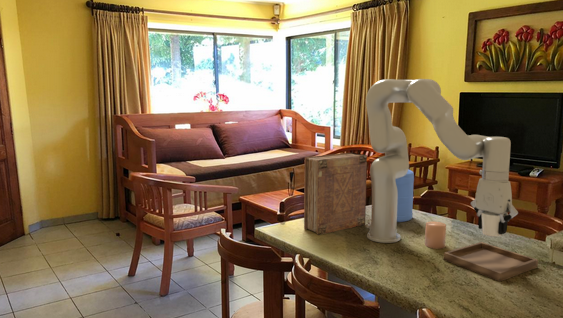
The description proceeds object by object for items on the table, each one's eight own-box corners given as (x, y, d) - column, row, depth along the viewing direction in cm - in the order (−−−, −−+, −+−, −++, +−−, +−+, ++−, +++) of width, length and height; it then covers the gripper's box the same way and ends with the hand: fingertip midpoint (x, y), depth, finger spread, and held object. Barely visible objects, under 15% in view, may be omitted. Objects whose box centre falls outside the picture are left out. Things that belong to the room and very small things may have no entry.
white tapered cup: (506, 237, 137) (507, 215, 136) (483, 236, 138) (484, 215, 137) (500, 231, 143) (501, 210, 143) (478, 230, 145) (478, 209, 144)
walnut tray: (443, 259, 146) (443, 252, 146) (480, 248, 156) (481, 241, 156) (499, 281, 129) (500, 273, 129) (537, 267, 139) (538, 259, 139)
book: (317, 235, 172) (317, 160, 168) (303, 229, 180) (303, 157, 175) (365, 224, 185) (367, 154, 181) (351, 219, 193) (352, 152, 189)
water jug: (418, 217, 196) (421, 155, 192) (401, 224, 185) (403, 159, 181) (387, 210, 207) (389, 152, 203) (369, 217, 195) (371, 155, 191)
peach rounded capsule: (420, 244, 161) (421, 223, 160) (433, 240, 165) (434, 220, 163) (436, 250, 155) (437, 228, 154) (449, 246, 159) (450, 225, 157)
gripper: (463, 173, 144) (461, 226, 146) (514, 181, 129) (510, 240, 132) (478, 170, 147) (475, 222, 150) (529, 178, 133) (525, 236, 135)
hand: (492, 230), depth 141 cm, fingers closed on white tapered cup, 6 cm apart
